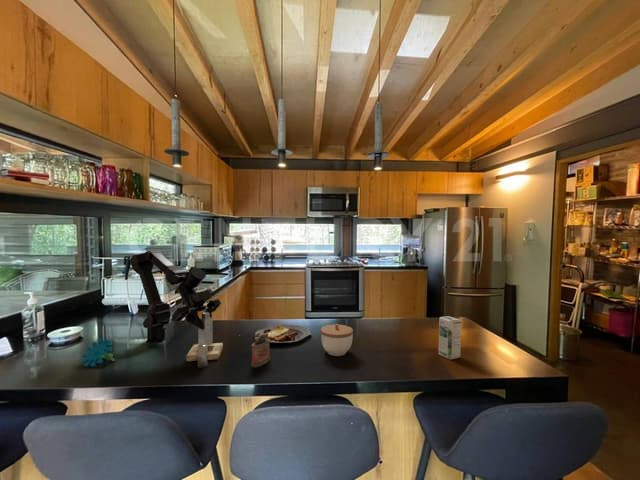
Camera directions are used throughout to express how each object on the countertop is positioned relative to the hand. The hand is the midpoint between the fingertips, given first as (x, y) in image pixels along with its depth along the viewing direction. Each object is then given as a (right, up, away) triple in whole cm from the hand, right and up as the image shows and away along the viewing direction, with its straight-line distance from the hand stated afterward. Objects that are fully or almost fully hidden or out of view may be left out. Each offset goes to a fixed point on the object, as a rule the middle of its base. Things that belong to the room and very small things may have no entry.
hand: (207, 327), depth 111 cm
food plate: (+26, -11, +21) cm, 35 cm away
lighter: (+21, -11, -6) cm, 25 cm away
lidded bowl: (+49, -11, +4) cm, 50 cm away
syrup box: (+92, -11, +1) cm, 93 cm away
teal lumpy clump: (-36, -10, -8) cm, 38 cm away
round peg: (+1, -10, -9) cm, 14 cm away
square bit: (-1, -7, +1) cm, 7 cm away
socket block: (-1, -10, +1) cm, 10 cm away
